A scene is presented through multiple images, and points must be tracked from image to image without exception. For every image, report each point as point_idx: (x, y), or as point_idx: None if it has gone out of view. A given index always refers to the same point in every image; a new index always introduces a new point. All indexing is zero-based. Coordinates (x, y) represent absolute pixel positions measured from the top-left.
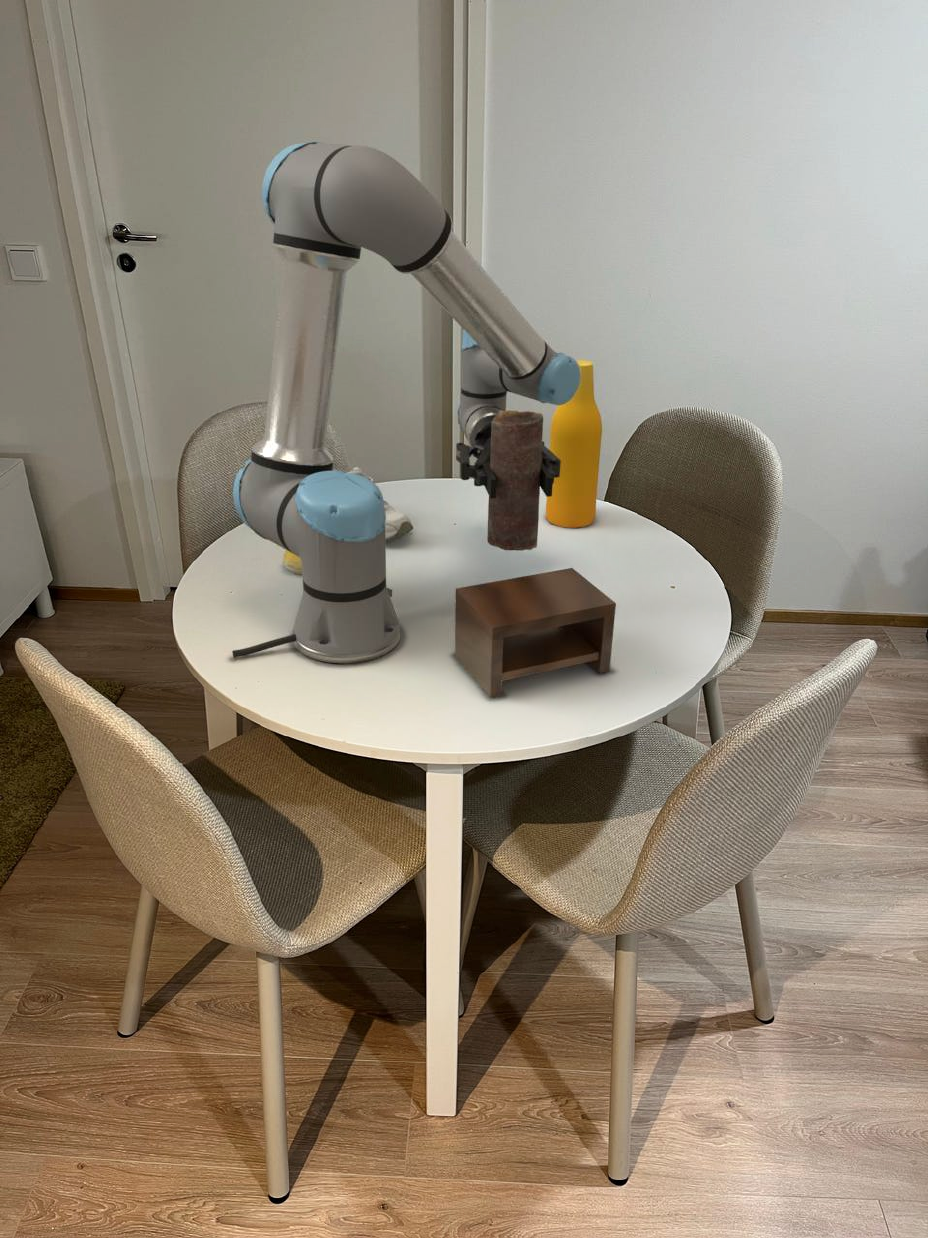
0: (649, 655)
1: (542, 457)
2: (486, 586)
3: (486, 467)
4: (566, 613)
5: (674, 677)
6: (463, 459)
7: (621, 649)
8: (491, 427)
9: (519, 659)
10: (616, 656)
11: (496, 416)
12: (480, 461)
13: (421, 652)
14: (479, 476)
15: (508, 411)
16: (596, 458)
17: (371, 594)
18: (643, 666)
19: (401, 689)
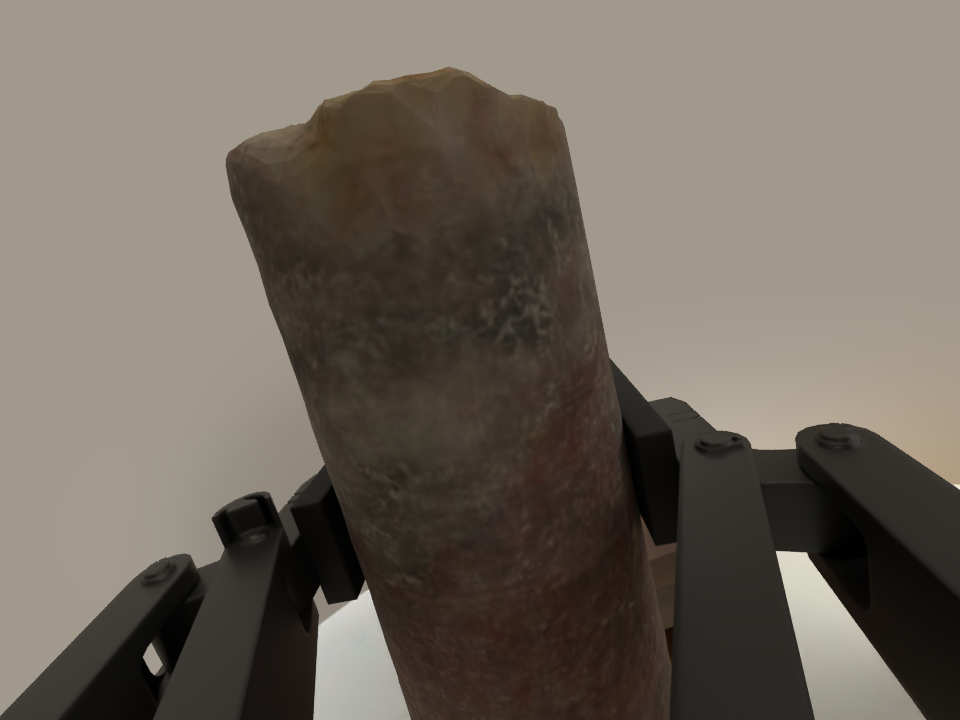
0: (336, 693)
1: (269, 497)
2: (648, 544)
3: (641, 408)
4: None
5: (345, 627)
6: (911, 479)
7: (372, 717)
8: (570, 160)
9: None
10: (397, 688)
11: (516, 98)
12: (714, 475)
13: (850, 697)
14: (675, 402)
15: (400, 87)
16: None
17: None
18: (370, 655)
19: (810, 566)
